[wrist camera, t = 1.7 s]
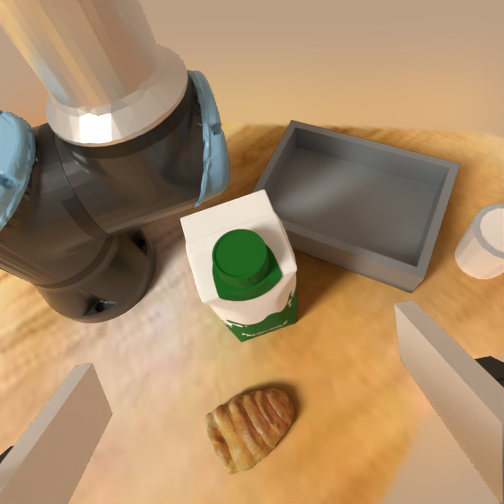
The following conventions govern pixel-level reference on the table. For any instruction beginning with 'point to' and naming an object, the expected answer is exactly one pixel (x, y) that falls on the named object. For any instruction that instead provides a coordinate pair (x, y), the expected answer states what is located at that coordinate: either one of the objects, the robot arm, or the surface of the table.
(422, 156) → the bin
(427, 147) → the table surface
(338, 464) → the table surface
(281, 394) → the pastry
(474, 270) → the white round container
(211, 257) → the soya milk
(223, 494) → the table surface
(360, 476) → the table surface
